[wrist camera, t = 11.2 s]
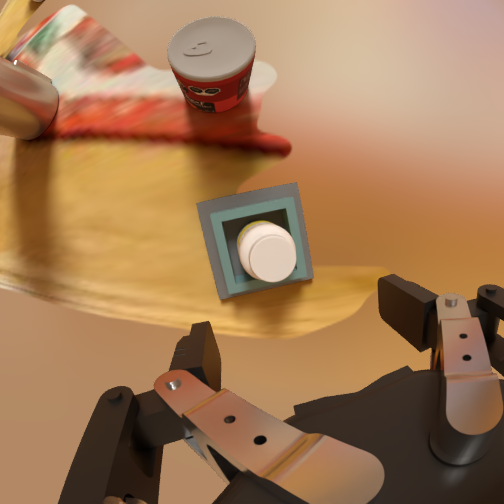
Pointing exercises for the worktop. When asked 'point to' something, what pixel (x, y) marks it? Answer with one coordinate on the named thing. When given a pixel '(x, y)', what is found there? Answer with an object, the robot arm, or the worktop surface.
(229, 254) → the grey-teal square frame
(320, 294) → the worktop surface
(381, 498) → the robot arm
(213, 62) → the canned food
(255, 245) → the supplement bottle
